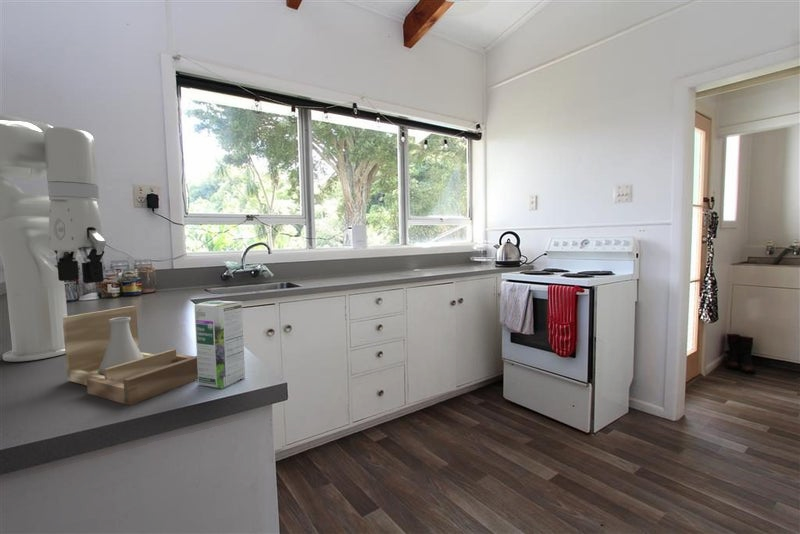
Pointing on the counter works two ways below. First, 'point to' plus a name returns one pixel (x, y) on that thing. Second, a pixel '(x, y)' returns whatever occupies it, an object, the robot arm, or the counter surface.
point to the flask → (120, 345)
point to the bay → (146, 382)
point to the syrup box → (219, 343)
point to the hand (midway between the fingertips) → (80, 280)
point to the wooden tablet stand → (104, 347)
